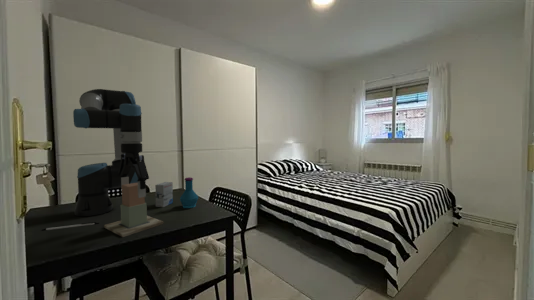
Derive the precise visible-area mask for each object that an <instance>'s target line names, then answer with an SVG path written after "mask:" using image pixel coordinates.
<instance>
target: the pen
mask: <svg viewBox="0 0 534 300" xmlns="http://www.w3.org/2000/svg"><path fill="white" fill-rule="evenodd" d="M98 224H100V222H96V221H94V222H93V221H92V222H84V223H79V224H72V225H64V226H57V227H56V226H54V227H46V228H43V229H42V231H51V230H59V229H67V228H76V227H82V226H92V225H98Z"/></svg>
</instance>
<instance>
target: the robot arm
mask: <svg viewBox="0 0 534 300" xmlns="http://www.w3.org/2000/svg"><path fill="white" fill-rule="evenodd" d="M136 102H137V101H136V98H135V95H134V94H133V93H132V92H129V91H125V90H115V89H106V88H105V89H103V88H95V89H91V90H88V91H85V92H83V93H82V94H81V95H80V97H79V105H80V108H75V109H73V112H72V115H73V116H72V117H73V125H74V127H75V128H77V129H78V128H80V129H113V145H114V159H113V160H112V161H111V164H110V165H108V163H107V162H99V163H96V162H95V163H91V164H86V165H83V166H80V167H79V168H78V169H77V176H76V178H77V186H78V189H77V190H78V194H77V195H78V199H77V201H76V204H75V207H74V211H73V212H74V216H77V217H89V216H91V217H92V216H97V215H102V214H106V213H108V212H111V211H112V210H114V205H113V204H114V203H113V202H112V200H111V197H110V195H109V190H110V189H117V188H121V191H122V185H125V184H131V183H138V198H141V197H145V198H146V197H147V187H146V181H147V180H149V179H150V176H149V172H148V169H147V165H146V162H145V156H144V155H143V154H141V155H140V153H142V152H143V144H142V142H143V131H142V114H143V113H142V108H141V106H140V105H139V104H136Z"/></svg>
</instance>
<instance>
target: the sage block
mask: <svg viewBox="0 0 534 300" xmlns="http://www.w3.org/2000/svg"><path fill="white" fill-rule="evenodd" d="M147 204H148V203H147V202H145V203H144V204H140V205H136V206H132V207H128V206H125V205H123V204H122V203H121V204H120V221H121V224H123V225H125V226H127V227H129V228H130V227H133V226H136V225H140V224H143V223H146V222H147V216H148V210H147V209H148V207H147Z"/></svg>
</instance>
